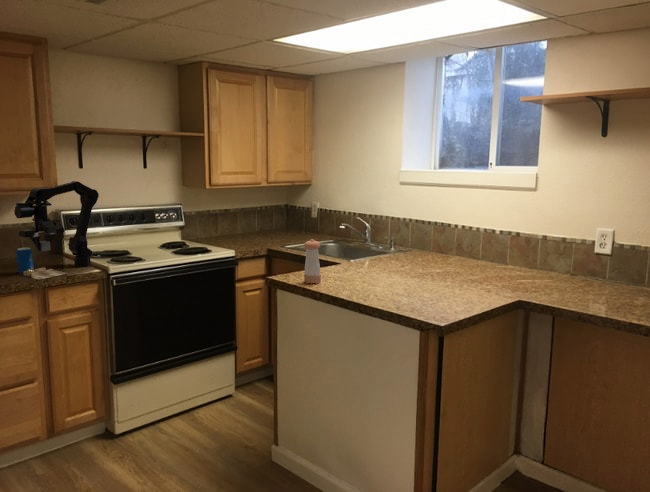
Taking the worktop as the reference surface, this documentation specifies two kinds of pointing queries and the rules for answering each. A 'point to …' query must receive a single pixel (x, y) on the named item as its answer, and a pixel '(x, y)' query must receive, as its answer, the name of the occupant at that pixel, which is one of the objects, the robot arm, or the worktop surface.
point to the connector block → (44, 246)
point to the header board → (44, 273)
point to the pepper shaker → (312, 262)
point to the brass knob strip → (29, 273)
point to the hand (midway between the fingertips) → (43, 249)
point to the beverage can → (24, 259)
